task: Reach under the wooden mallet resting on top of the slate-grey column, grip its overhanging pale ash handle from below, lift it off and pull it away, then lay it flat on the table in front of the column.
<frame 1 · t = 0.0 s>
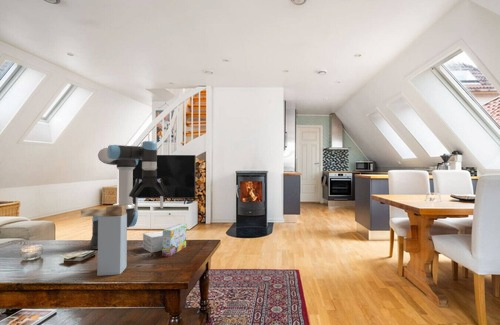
hand: (149, 209, 146), 28 cm above the table, tool pointing down, fingers open, 13 cm apart
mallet: (113, 215, 132), point 27 cm above the table, touching slate column
supplement box: (159, 248, 172), on the table
snack box: (174, 251, 164), on the table
slate column: (112, 271, 131), on the table
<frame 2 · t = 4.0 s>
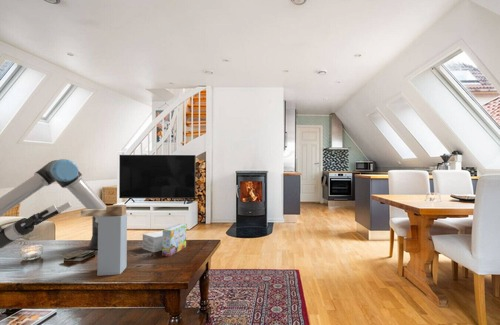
hand: (63, 205, 133), 32 cm above the table, tool pointing upward, fingers open, 13 cm apart
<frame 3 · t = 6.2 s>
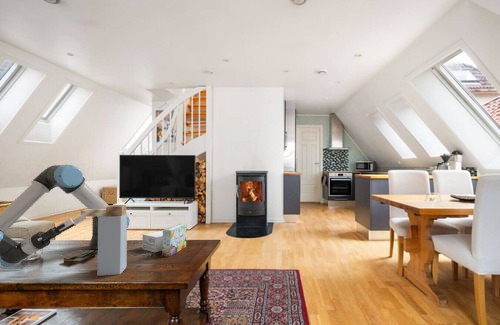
hand: (79, 218, 129), 26 cm above the table, tool pointing upward, fingers open, 13 cm apart
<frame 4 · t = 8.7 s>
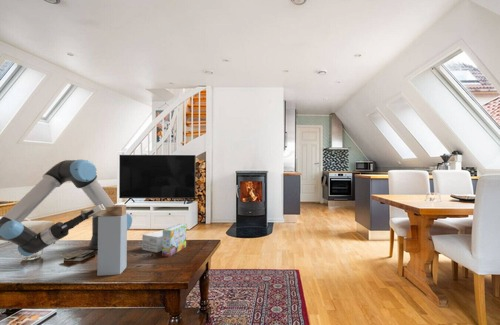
hand: (101, 206, 132), 31 cm above the table, tool pointing upward, fingers closed on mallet, 3 cm apart
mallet: (113, 215, 132), point 27 cm above the table, touching gripper, slate column
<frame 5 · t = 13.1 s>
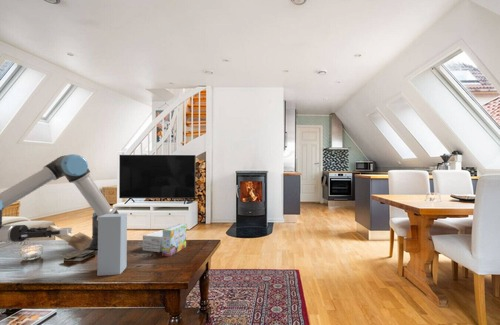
hand: (69, 231, 129), 20 cm above the table, tool horizontal, fingers closed on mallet, 3 cm apart
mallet: (75, 244, 129), point 14 cm above the table, tilted 30°, touching gripper
when the fingers open (7 cm above the table, at t = 16.5 s): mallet drops 2 cm, on the table.
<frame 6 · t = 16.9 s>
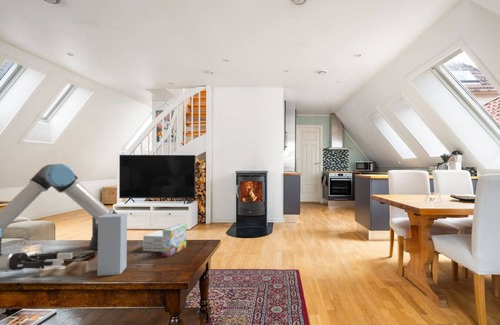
hand: (66, 258, 128), 7 cm above the table, tool horizontal, fingers open, 9 cm apart
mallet: (73, 273, 129), on the table
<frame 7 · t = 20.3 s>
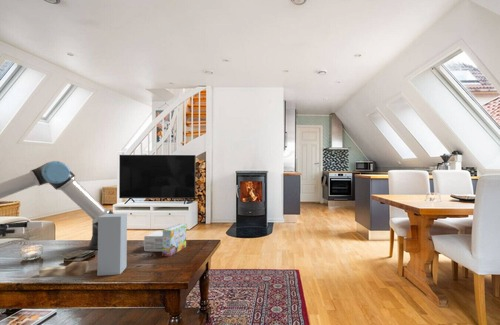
hand: (33, 227, 127), 22 cm above the table, tool horizontal, fingers open, 13 cm apart
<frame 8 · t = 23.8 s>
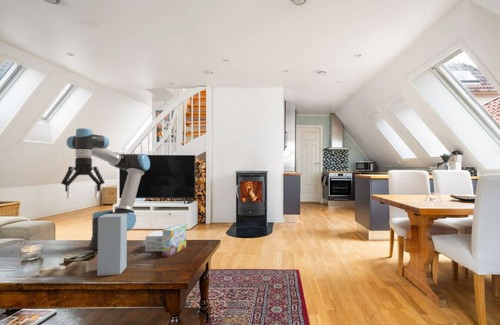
hand: (83, 197, 143), 35 cm above the table, tool pointing down, fingers open, 13 cm apart
at the end: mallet inside the target area (2.5 cm from its centre), on the table; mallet tilted 0°; the gripper is holding nothing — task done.
